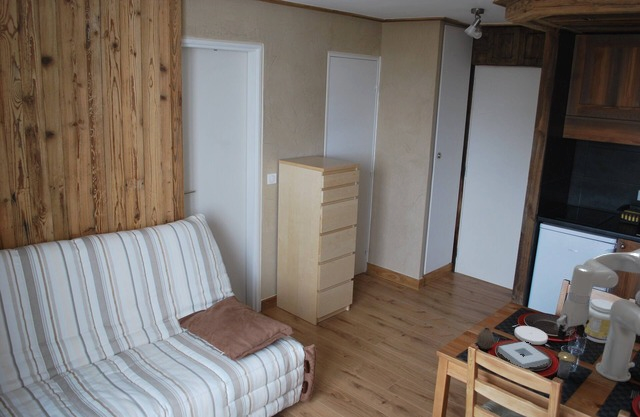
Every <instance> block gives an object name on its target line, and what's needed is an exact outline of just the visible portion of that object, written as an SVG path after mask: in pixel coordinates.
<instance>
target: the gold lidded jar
mask: <svg viewBox="0 0 640 417" xmlns="http://www.w3.org/2000/svg"><path fill="white" fill-rule="evenodd" d="M558 358H559V359H560V360H559V363H558V364H559V365H558V368H557V369H558V370H557V376H558V377H559V378H560V379H564V380H566V379H567V380H568V379H569V375H570V370H571V366H572V363H573V362H575V360H576V356H575V355H574V354H572V353H570V352H567V351H560V352H559V353H558Z"/></svg>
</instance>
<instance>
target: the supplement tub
mask: <svg viewBox="0 0 640 417" xmlns="http://www.w3.org/2000/svg"><path fill="white" fill-rule="evenodd" d="M613 303H614V302H612V301H609V300H607V299H601V298H593V299H592V300H591V301H590V305H589V315H591V316H592V317H591V319H590V320H589V323H588V324H587V327H586V328H585V333H586V334H587V338H586V339H588V340H590V341H592V342H595V343H599V344H606V340H607V335H608V331H609V326H610V309H611V306H612V304H613Z"/></svg>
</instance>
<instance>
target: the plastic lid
mask: <svg viewBox="0 0 640 417" xmlns="http://www.w3.org/2000/svg"><path fill="white" fill-rule="evenodd" d="M514 336H515V338H517V339H518V340H519V341H521V342H523V341H526V342H529V343H528V344H530V343H531V344H530V345H537V346H538V345H540V346H541V345H544V344H546V343H547V342H548V339H549V336H548V334H547V333H546V332H544V331H543V330H541V329H539V328H537V327H533V326H530V325H529V326H528V325H520V326H517V327H515V329H514Z"/></svg>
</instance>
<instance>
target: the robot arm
mask: <svg viewBox="0 0 640 417" xmlns="http://www.w3.org/2000/svg"><path fill="white" fill-rule="evenodd" d="M615 271H622V272H626V273H631V274H632V273H633V274H640V248H638V249H636V250H633V251H630V252H612V253H611V252H610V253H609V252H608V253H603V254H600V255H597V256H595V257H592V258H590V259H587V260H586V261H585V262H584V263H583V264H576V265H575V267H573V272H572V276H571V282H570V286H569V290H568V295H567V298H566V299H565V300H564V303H563V306H562V308H561V312H560V316H559V318H558V319H557V320H556V326H557V328H558V332H557V336H556V337H557V338H558V339H560V340H561V341H566V337H567V330H568V329H569V327H576V330H575V334H576V335H577V336H579V337H581V338H584V337H585V336H584V332H585V328H586V327H587V324H588V323H589V320H590V319H591V317H592V316H591V315H589V306H590V303H591V301H590V300H591V296H592V292H593V289H594V288H595V287H596V288H601V289H611V288H615V286H617V285H618V283H619V275H618V274H617V273H616V272H615ZM635 301H636V303H635V302H633V301H631V300H629V299H626V298H621V299H620V298H619V299H617V300H615V301H614V302H612V303H613V304H612V306H611V309H610V326H609V331H608V335H607V340H606V343H604V348H603V354H602V358H601V361H599V362H597V363H596V365H595V370H596V371H597V373H598V374H599V375H601V376H603V377H604V378H606V379H608V380H612V381H615V382H627V381H629V380H630V379H631V376H632V375H631V373H630V371H629V370H630V369H631V368H634V367H635V365H636V364H635V362H633V361H631V357H632V353H633V349H634V345H635V341H636V336H640V290H638V291H637V292H636V294H635ZM564 325H565V326H564ZM630 361H631V362H630Z"/></svg>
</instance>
